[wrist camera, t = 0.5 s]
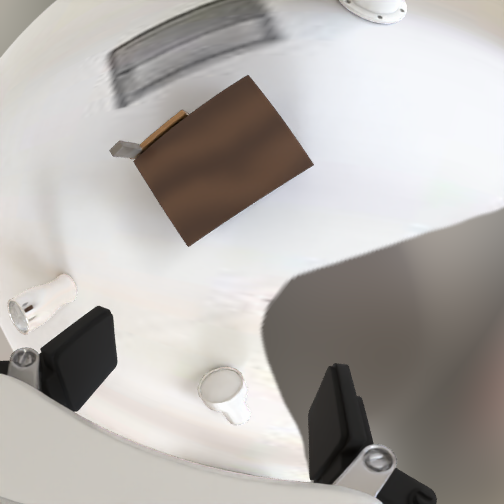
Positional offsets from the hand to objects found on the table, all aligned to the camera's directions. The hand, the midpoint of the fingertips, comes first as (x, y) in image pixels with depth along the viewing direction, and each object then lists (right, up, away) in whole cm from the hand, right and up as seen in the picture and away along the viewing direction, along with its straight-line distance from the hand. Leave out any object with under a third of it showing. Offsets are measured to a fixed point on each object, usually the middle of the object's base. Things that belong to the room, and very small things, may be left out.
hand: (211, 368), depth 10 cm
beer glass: (-36, -3, +36) cm, 51 cm away
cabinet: (-1, +17, +26) cm, 31 cm away
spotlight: (-2, -20, +36) cm, 42 cm away
